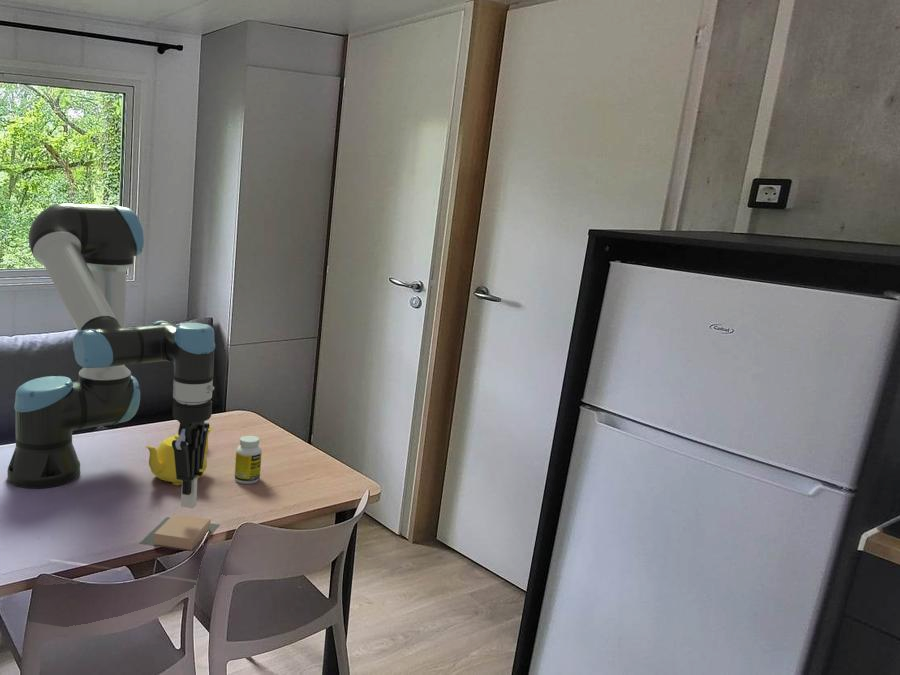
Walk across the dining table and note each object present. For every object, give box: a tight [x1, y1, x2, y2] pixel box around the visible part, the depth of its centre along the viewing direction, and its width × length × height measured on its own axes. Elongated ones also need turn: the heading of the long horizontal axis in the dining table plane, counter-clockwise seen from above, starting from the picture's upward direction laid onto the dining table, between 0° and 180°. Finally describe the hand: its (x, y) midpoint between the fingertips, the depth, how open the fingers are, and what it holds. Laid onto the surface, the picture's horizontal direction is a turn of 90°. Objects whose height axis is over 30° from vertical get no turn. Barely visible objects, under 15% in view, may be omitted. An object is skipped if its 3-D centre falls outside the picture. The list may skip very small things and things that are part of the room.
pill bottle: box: [234, 435, 263, 485], centre depth 180 cm, size 6×6×11 cm
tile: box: [154, 513, 212, 550], centre depth 149 cm, size 8×2×9 cm
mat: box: [139, 516, 220, 553], centre depth 151 cm, size 12×12×1 cm
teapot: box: [145, 426, 213, 486], centre depth 175 cm, size 20×15×12 cm
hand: (188, 505), depth 150 cm, fingers closed
